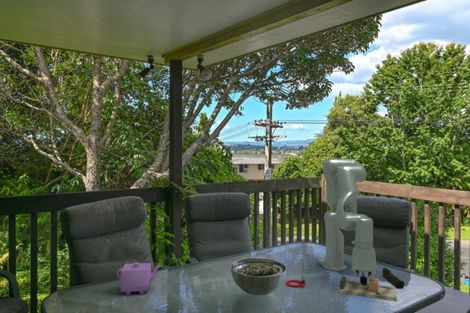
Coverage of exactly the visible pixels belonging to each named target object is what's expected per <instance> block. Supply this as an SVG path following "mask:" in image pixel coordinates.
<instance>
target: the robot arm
mask: <svg viewBox="0 0 470 313" xmlns="http://www.w3.org/2000/svg"><path fill="white" fill-rule="evenodd" d="M322 171H323V175H324V179H325V185H326V186H325V187H326V188H325V189H326V195H325V196H326V203H327V206H328V207H331V208H335V209H331V210H327V211H326V212H325V213H324V216H323V220H324V224H325V225H324V226H325V257H324V258H322V257H317V262H318V263H322V268H324V269H326V270H329V271H333V272H334V271H336V272H339V271H340V272H341V271H345V270H346V269H347V265H346V264H344V259H345V258H344V257H345V256H344V254H345V253H344V252H345V246H344V245H345V243H344V242H345V240H344V239H345V237H344V233H343V232H342V231H355V232H354V233H355V236H354V237H355V238H354V240H352V241H351V245H354V246H353V248H352V254H351V271H352V272H355V273H356V274H357V275H358V276H359V282H360V283H362V286H363V284H364V286H365V285H366V284H368V278H369V277H370V275H375V274H377V268H376V267H377V260H376V251H375V248H374V221H373V218H371V217H368V216H367V215H366V214H361V213H360V214H359V213H358V207H357V206H358V203H357V202H358V201H357V198H358V197H359V195H360V190H359V186H358V183H361V182H362V183H363V182H365V181H366V179H367V174H368V173H367V171H366V169H365V167H364V166H363V165H362V164H361V163H360V162H359V161H358V160H356V159H354V158H328V159H326V160H324V163H323V166H322ZM341 230H342V231H341ZM363 272H365V273H363Z"/></svg>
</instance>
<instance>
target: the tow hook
mask: <svg viewBox="0 0 470 313" xmlns="http://www.w3.org/2000/svg"><path fill="white" fill-rule="evenodd" d="M300 275H301V280H299V279H289V280H286V281H285V286H287V287H289V288H300V287H301V288H305V286H306V282H307V281H306V277H305V276H306V275H305V263H304V258H303V257H302V258H301V274H300ZM292 283H297V284H292Z"/></svg>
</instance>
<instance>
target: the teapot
mask: <svg viewBox="0 0 470 313" xmlns="http://www.w3.org/2000/svg"><path fill="white" fill-rule="evenodd" d="M161 267H163V264H161V265H159V264H157V265H156V266H154V268H153V271H152V263H150V262H147V263H146V262H142V263H140V262H138V261H137V262H133V263H125V264H124V265H123V266H122V267H120V268H119V269H118V270H117V271H116V275H117V277H118V278H119V281H118V284H119V286H120V293H125V295H131V294H132V292H133V293H134V292H138V293H139V294H140V295H143V294H146V292H149V290H150V286H151V283H152V281H153V280H154V279H155V278H156V275H157V272H158V269H160V268H161Z"/></svg>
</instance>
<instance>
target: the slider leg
mask: <svg viewBox="0 0 470 313" xmlns="http://www.w3.org/2000/svg"><path fill="white" fill-rule="evenodd" d="M368 284H369V285H368V290H369V291H372V292H374V291H376V292H378V285H379V278H377V277H371V276H368Z"/></svg>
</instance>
